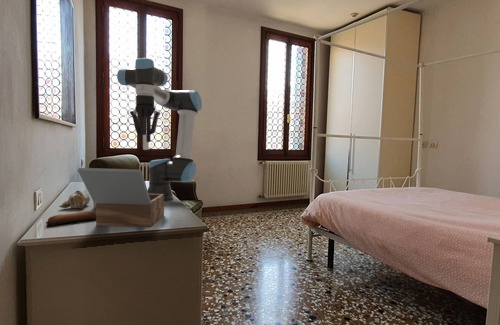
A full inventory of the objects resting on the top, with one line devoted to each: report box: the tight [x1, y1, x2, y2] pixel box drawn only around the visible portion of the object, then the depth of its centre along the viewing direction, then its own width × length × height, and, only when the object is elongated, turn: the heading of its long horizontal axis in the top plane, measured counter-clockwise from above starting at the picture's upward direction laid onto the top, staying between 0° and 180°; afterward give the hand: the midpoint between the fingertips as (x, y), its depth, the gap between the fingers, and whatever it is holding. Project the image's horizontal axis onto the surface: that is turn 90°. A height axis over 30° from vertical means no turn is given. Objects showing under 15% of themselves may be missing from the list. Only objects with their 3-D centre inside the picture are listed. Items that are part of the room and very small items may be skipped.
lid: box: [77, 167, 151, 205], centre depth 113 cm, size 18×22×1 cm
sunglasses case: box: [45, 210, 96, 227], centre depth 125 cm, size 18×7×7 cm
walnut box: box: [95, 194, 165, 228], centre depth 129 cm, size 18×22×10 cm
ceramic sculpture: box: [59, 190, 91, 209], centre depth 149 cm, size 11×9×15 cm
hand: (145, 149), depth 134 cm, fingers closed
